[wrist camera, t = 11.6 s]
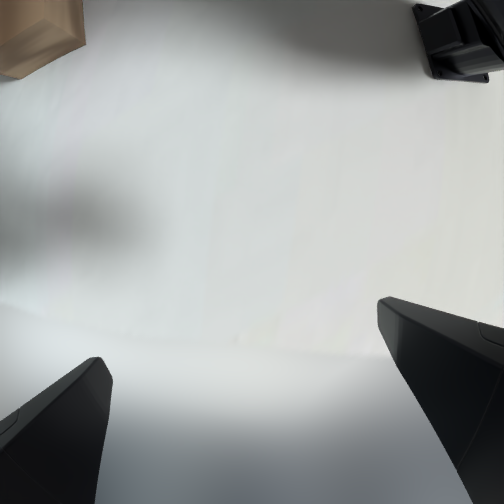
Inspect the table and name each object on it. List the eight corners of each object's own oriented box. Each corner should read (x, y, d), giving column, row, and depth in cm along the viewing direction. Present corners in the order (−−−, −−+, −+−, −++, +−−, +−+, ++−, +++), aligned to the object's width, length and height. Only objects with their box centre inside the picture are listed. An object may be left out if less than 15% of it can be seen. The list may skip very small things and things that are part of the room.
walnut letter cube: (82, -17, 13) (47, -50, 8) (86, 44, 15) (43, 18, 10) (20, 17, 13) (-22, -2, 8) (21, 79, 15) (-29, 68, 10)
